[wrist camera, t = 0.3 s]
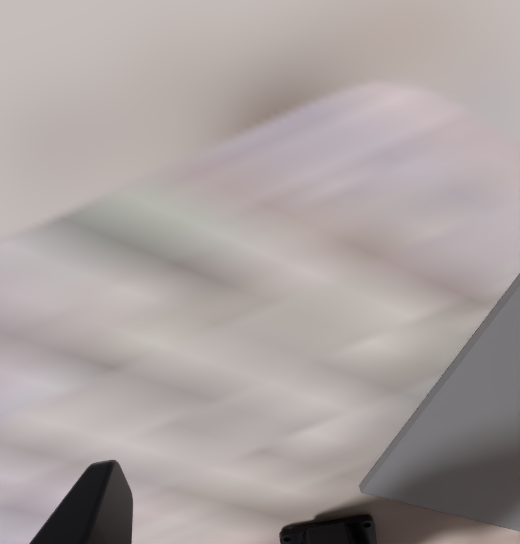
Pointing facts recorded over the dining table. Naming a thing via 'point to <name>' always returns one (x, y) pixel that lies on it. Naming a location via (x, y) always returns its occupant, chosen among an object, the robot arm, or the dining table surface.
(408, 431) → the mat
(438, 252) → the dining table surface
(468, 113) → the dining table surface
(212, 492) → the dining table surface
